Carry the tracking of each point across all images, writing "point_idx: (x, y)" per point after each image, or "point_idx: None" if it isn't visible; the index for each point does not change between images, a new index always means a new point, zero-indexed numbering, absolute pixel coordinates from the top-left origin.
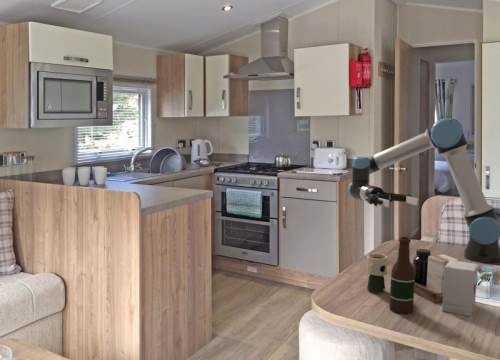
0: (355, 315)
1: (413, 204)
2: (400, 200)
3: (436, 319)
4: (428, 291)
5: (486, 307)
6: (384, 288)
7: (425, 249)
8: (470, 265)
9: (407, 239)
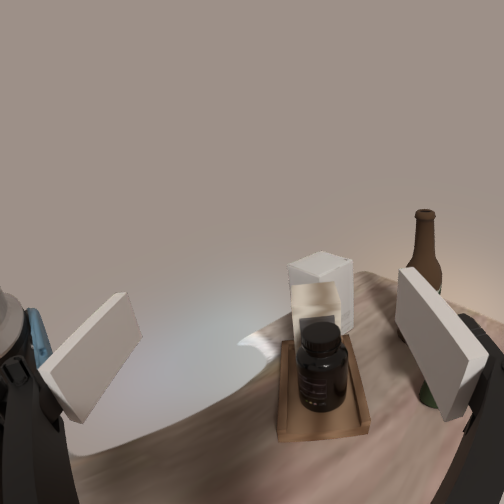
0: (481, 322)
1: (128, 355)
2: (65, 467)
3: (376, 313)
4: (351, 344)
5: (275, 329)
6: (420, 394)
7: (308, 337)
8: (306, 260)
9: (422, 209)
